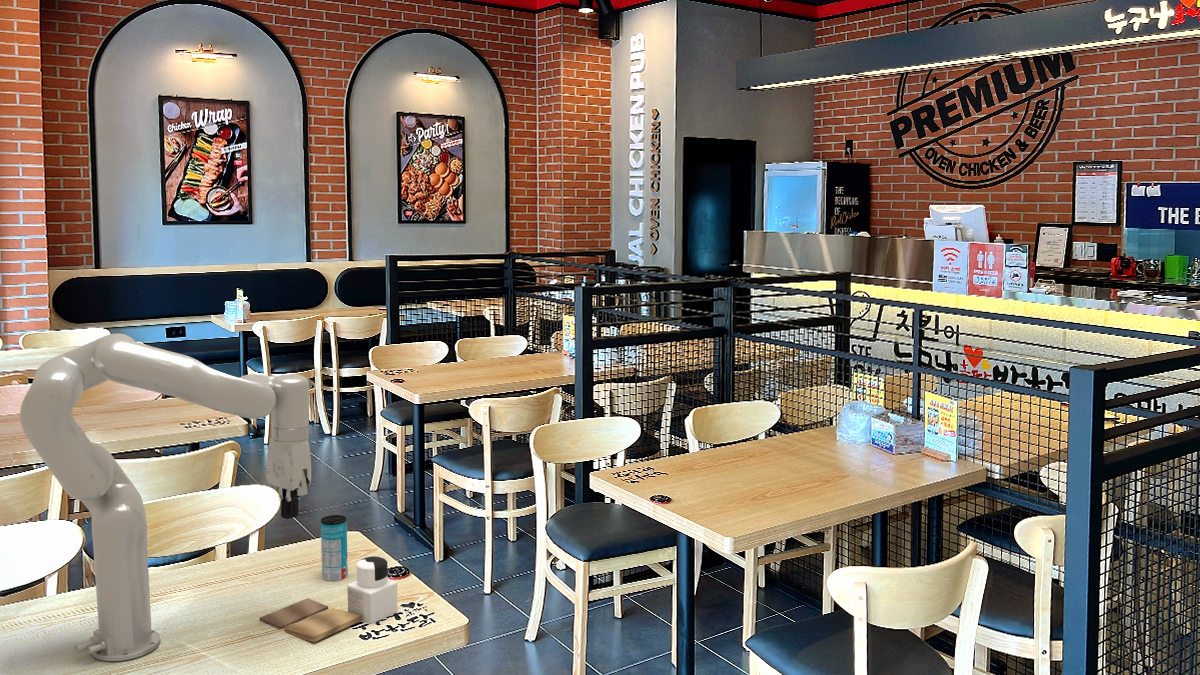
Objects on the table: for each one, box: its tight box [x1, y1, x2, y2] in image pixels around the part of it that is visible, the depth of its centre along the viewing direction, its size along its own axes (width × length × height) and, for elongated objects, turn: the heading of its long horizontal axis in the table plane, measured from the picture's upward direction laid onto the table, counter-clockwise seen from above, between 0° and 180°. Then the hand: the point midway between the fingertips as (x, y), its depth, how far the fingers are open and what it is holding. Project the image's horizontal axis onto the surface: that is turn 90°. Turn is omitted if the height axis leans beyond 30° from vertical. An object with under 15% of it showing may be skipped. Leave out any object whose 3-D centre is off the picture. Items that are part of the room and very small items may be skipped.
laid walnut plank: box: [258, 597, 329, 630], centre depth 206 cm, size 13×18×1 cm
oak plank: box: [283, 607, 362, 643], centre depth 204 cm, size 13×10×1 cm
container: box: [346, 556, 398, 625], centre depth 210 cm, size 8×8×13 cm
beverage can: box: [320, 514, 349, 582], centre depth 229 cm, size 6×6×15 cm
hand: (289, 516), depth 207 cm, fingers closed
